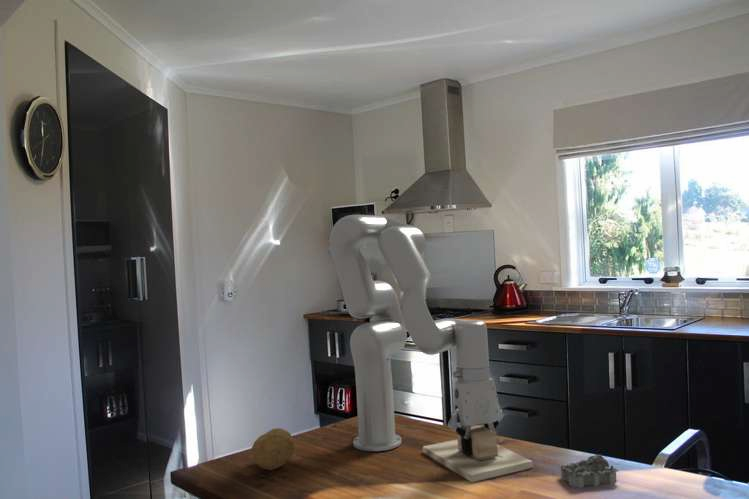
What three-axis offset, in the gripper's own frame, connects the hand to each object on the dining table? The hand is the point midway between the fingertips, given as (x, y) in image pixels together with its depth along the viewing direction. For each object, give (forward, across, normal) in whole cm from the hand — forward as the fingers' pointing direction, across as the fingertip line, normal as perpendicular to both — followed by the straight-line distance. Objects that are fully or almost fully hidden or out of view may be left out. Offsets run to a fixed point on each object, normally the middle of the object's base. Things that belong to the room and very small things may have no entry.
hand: (477, 451), depth 137 cm
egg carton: (+3, +13, -21) cm, 25 cm away
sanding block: (+1, 0, 0) cm, 1 cm away
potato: (+2, -43, +23) cm, 49 cm away
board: (+2, 0, +1) cm, 3 cm away
